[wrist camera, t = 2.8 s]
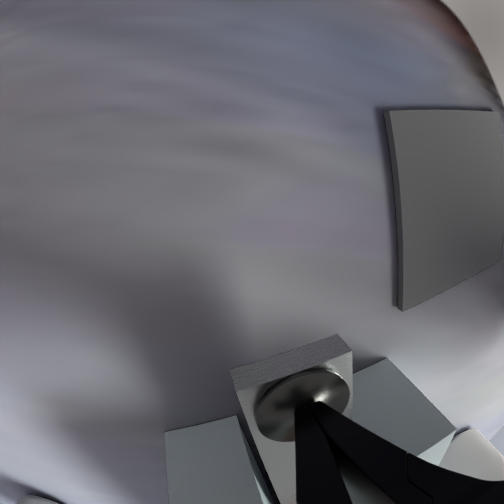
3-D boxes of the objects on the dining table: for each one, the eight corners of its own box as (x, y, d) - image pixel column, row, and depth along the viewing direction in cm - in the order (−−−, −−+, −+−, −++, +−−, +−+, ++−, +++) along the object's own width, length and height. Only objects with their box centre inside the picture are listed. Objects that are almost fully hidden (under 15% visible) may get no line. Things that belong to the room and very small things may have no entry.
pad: (494, 112, 12) (499, 112, 11) (496, 256, 15) (501, 258, 15) (383, 111, 10) (389, 111, 10) (397, 308, 14) (402, 311, 13)
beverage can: (415, 466, 22) (472, 540, 11) (473, 414, 22) (537, 478, 11) (422, 479, 25) (468, 539, 14) (472, 437, 25) (523, 491, 14)
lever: (229, 369, 9) (238, 399, 8) (337, 333, 9) (357, 356, 8) (297, 538, 16) (302, 549, 15) (338, 523, 16) (343, 534, 15)
